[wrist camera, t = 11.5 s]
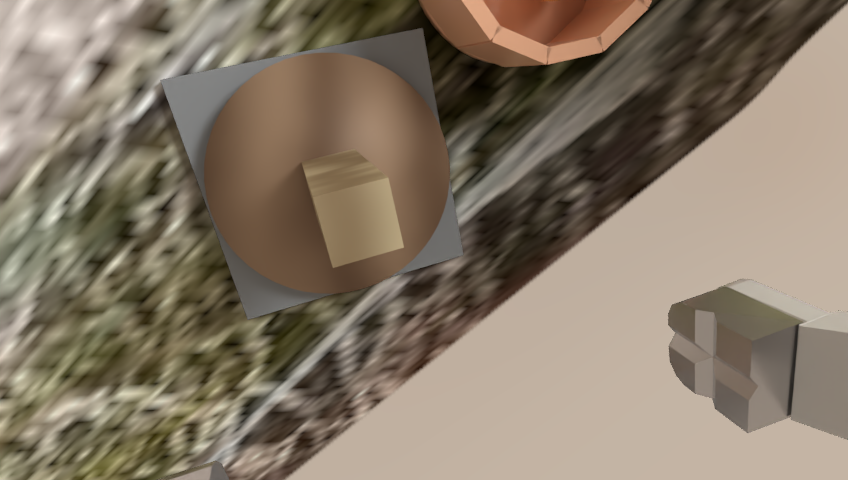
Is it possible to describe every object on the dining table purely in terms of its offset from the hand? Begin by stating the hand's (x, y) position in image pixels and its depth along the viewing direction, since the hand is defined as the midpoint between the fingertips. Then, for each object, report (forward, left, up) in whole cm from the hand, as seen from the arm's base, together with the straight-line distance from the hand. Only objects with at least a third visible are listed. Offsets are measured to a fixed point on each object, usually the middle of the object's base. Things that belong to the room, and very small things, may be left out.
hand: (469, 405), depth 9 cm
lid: (0, 0, -22) cm, 22 cm away
